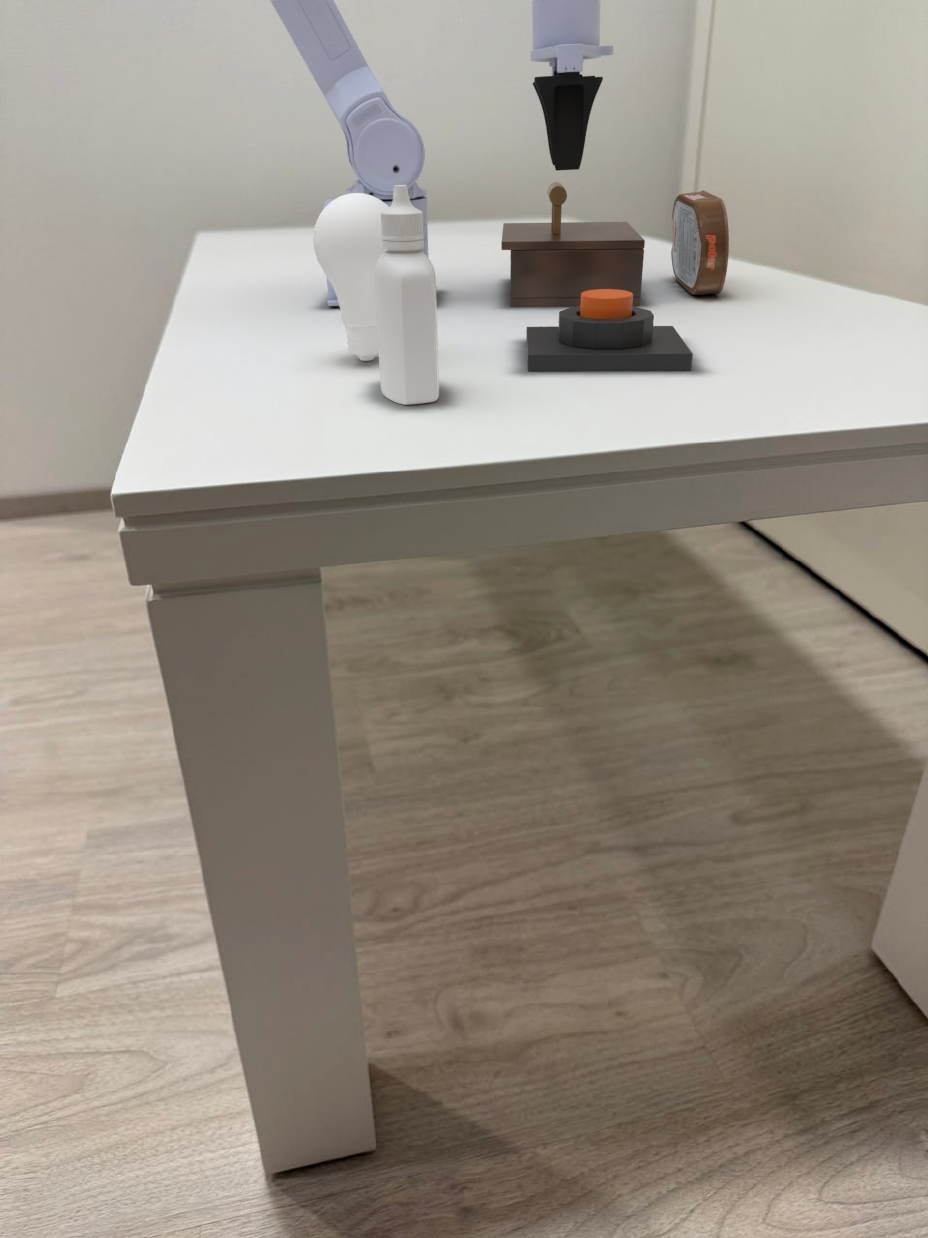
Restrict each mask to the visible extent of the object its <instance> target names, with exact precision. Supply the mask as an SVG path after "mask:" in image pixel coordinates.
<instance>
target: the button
mask: <svg viewBox="0 0 928 1238" xmlns="http://www.w3.org/2000/svg"><path fill="white" fill-rule="evenodd" d="M632 303H633V293H631V292H629V291H624V290H616V289H596V290H588V291H585V292H582V293H581V306H580V316H581V317H585V318H592V319H622V318H629V317H632Z"/></svg>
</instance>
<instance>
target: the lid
mask: <svg viewBox="0 0 928 1238" xmlns="http://www.w3.org/2000/svg"><path fill="white" fill-rule="evenodd" d="M546 191H547V196H548V199H549V202H550V203H551V222H504V223H503V226H502V232H501V243H500V244H501V251H511V250H557V249H644V250H645V245H646V243H645V242H646V240H645V238H644V237H642V236H641V234H640V233H639V232H637V230H636V229H634V227H633V226H632V225H631V224H630V223H629V222H628V221H575V222H573V221H572V222H569V221H568V222H565V221H564V222H563V221H562V205H564V204H565V202H566V201H567V198H568V193H567V190H566V188H565V187H564V185H563V184H562V183H561V182H558V181H555V182H552V183H550V185H548V187H547V190H546Z"/></svg>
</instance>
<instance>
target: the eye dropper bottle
mask: <svg viewBox="0 0 928 1238" xmlns="http://www.w3.org/2000/svg"><path fill="white" fill-rule="evenodd" d="M381 226H382V245H383V249H387V251H385V252H384V253H383V255H382V256H381V257H380V258H379V259H378V261H377V263H376V265H375V270H374V280H375V299H376V316H377V333H378V350H379V354H378V365H379V366H378V367H379V383H380V390H381V393H382V395H383V396H384V397H385V398H387V399H388V400H390V401H392V402H394V403H396V404H400V405H403V406H404V405H405V406H410V405H411V406H412V405H420V404H421V405H422V404H430V403H434V402H436V401H437V400H438V399H439V397H440V372H439V370H440V369H439V367H440V365H439V338H438V337H439V333H438V304H437V303H438V302H437V291H436V287H437V278H436V277H437V276H436V271H435V268H434V265H433V263H432V262H431V260H430V258H428V257H429V256H428V257H427V256H426V255H425V253H424V252H423V251H422V250H419V249H421V248H424V239H423V238H424V233H423V212H422V211H420V210H418V209H417V208H415V207H414V206H413V205H412V204H411V202H410V198H409V194H408V189H407V185H395V186H394V194H393V201H392V204H391V206H390V207H389V208H388V209H386V210H384V211H383V212H382V213H381Z"/></svg>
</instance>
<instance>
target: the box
mask: <svg viewBox="0 0 928 1238" xmlns="http://www.w3.org/2000/svg"><path fill="white" fill-rule="evenodd" d="M644 256H645V248H644V249H557V250H510V266H509V267H510V273H509V274H510V276H509V277H510V280H509V281H510V282H509V283H510V284H509V286H510V287H509V289H510V290H509V291H510V292H509V296H510V297H509V306H510V308H570V307H577V306H581V293H582V292H585V291H588V290H596V289H616V290H624V291H629V292H631V293H633V303H632V306H634V307H640V306H641V297H642V287H643V286H642V284H643V272H644V271H643V270H644Z"/></svg>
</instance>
